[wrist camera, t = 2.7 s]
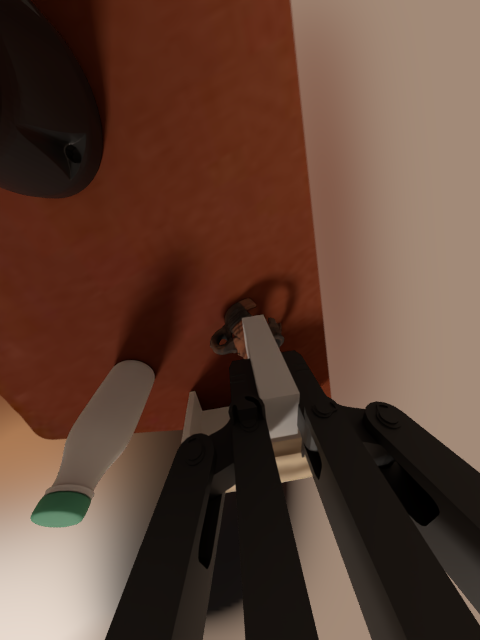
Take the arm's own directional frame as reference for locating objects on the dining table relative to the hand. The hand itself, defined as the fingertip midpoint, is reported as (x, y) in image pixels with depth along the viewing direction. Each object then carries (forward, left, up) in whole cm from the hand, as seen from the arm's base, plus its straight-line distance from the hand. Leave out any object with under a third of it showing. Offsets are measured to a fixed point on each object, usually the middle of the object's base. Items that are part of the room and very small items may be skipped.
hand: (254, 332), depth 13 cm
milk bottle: (+17, -22, -17) cm, 33 cm away
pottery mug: (+10, 0, -18) cm, 20 cm away
